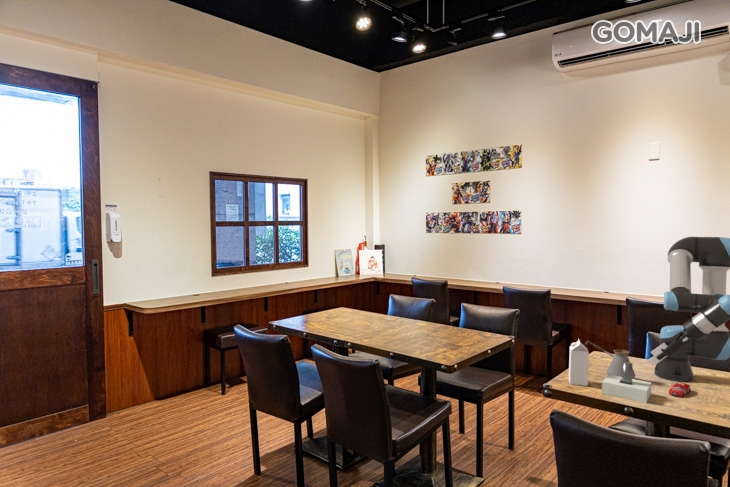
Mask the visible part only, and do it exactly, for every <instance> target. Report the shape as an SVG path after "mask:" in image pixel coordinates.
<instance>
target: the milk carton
mask: <svg viewBox="0 0 730 487" xmlns="http://www.w3.org/2000/svg"><path fill="white" fill-rule="evenodd" d="M589 354H590V353H589V350H588V348H587V347H586V346H585V344H583V343H582V342H581V341H580V339H579V338H578V340H577V341H576V342H575V341H574V342H572V343H570V346H569V357H568V358H569V360H568V382H569V385H573V386H586V387H588V385H589V361H590V360H589V358H590V357H589Z"/></svg>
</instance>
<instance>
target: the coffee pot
mask: <svg viewBox="0 0 730 487" xmlns="http://www.w3.org/2000/svg"><path fill="white" fill-rule="evenodd" d="M588 344H590V345H591V346H593V347H594V348H596V349H598V350H600V351H601V352H603V353H605V354H608V355H609V356H610V357H612V360H611V362H610V364H609V366H608V367H607V369H606V374H607V376H608V375H614V376H619V377H622V364H623V362H630V363H631V361H630V359H629V354H630V350H629V351H628V350H626V349H613V352H614V354H612V353H610V352H609V351H606V350H605V349H604V348H602V347H600V346H599V345H597V344H595V343H593V342H591V341H590V340H586V342H585V343H584V345H588ZM635 378H636V373H635V371H634V368H633V367H632V379H635Z"/></svg>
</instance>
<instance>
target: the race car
mask: <svg viewBox="0 0 730 487" xmlns="http://www.w3.org/2000/svg"><path fill="white" fill-rule="evenodd" d="M690 393H691V385H690V384H688V383H684V382H681V381H677V382H676V383H675V384H673V385H671V388H669V389H668V394H669V395H671V396H674V397H678V398H684V397H685V396H687V395H688V394H690Z"/></svg>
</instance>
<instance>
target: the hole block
mask: <svg viewBox="0 0 730 487" xmlns="http://www.w3.org/2000/svg"><path fill="white" fill-rule="evenodd" d="M601 394H602V395H606V396H612V397H615V398H620V399H626V400H630V401H634V402H638V403H639V402H640V403H644V404H647V403H648V401H649V399H650V397H651V395H652V382H650V381H645V380H644V381H643V380H639V379H635V378H634V379H632V385H629V384H624V383H622V377H619V376H614V375H608V374H607V376H606V377H605V378H604V379H603V380H602V381H601Z"/></svg>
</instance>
